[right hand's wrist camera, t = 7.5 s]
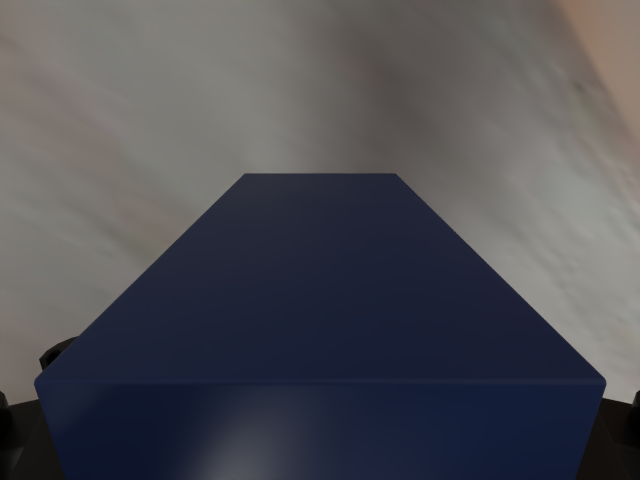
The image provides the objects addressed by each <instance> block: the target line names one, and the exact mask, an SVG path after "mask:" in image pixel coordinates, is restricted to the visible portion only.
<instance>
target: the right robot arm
mask: <svg viewBox="0 0 640 480" xmlns="http://www.w3.org/2000/svg"><path fill="white" fill-rule="evenodd" d="M77 337H78V336H77ZM77 337H73V338H70V339H68V340H66V341H63V342H61V343H58V344H57V345H55V346H54V347H52V348H51V349H49V350H48V351H46V352H45V353H44V355H43V356H42V357H41V358H40V359H39V360H40V364H41V367H42V370H43V371H44V370H45V369H46V368H47V367H48V366H49V365H50V364H51V363H52V362H53V361H54V360H55V359H56V358H57V357H58V356H59V355H60V354H61V353H62V352H63V351H64V350H65V349H66V348H67V347H68V346H69V345H70V344H71V343H72V342H73V341H74V340H75V339H76V338H77ZM0 480H65V477H64V473H63V470H62V467H61V464H60V461H59V458H58V455H57V452H56V449H55V446H54V443H53V440H52V437H51V434H50V431H49V428H48V425H47V422H46V419H45V416H44V413H43V410H42V407H41V404H40V401H39V399H38V400H33V401H29V402H24V403H19V404H15V405H10V406H9V405H8V402H7V400H6V397H5V394H4V393H2V392H1V391H0ZM575 480H640V390H639V391H638V392H637V393H636V395H635V398H634V401H633V403H632V404H629V403H624V402H619V401H615V400H610V399H606V398H602V400H601V403H600V406H599V409H598V412H597V415H596V418H595V421H594V424H593V427H592V430H591V433H590V436H589V439H588V442H587V445H586V448H585V451H584V454H583V457H582V460H581V463H580V466H579V469H578V472H577V475H576V478H575Z"/></svg>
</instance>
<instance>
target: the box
mask: <svg viewBox="0 0 640 480" xmlns="http://www.w3.org/2000/svg"><path fill="white" fill-rule="evenodd" d="M34 386H35V389H36V392H37V395H38V398H39V401H40V404H41V407H42V410H43V413H44V416H45V419H46V422H47V425H48V428H49V431H50V434H51V437H52V440H53V443H54V446H55V449H56V452H57V455H58V458H59V461H60V464H61V467H62V470H63V473H64V477H65V480H575V478H576V475H577V472H578V469H579V466H580V463H581V460H582V457H583V454H584V451H585V448H586V445H587V442H588V439H589V436H590V433H591V430H592V427H593V424H594V421H595V418H596V415H597V412H598V409H599V406H600V403H601V400H602V397H603V393H604V390H605V387H606V380H605V378H604V377H603V376H602V375H601V374H600V373H599V372H598V371H597V370H596V369H595V368H594V367H593V366H592V365H591V364H590V363H588V362H587V361H586V360H585V359H584V358H583V357H582V356H581V355H580V354H579V353H578V352H577V351H576V350H575V349H574V348H573V347H572V346H571V345H570V344H569V343H568V342H567V341H566V340H565V339H564V338H563V337H562V336H561V335H560V334H559V333H558V332H557V331H556V330H555V329H554V328H553V327H552V326H551V325H550V324H549V323H548V322H547V321H546V320H545V319H544V318H543V317H541V316H540V315H539V314H538V313H537V312H536V311H535V310H534V309H533V308H532V307H531V306H530V305H529V304H528V303H527V302H526V301H525V300H524V299H523V298H522V297H521V296H520V295H519V294H518V293H517V292H516V291H515V290H514V289H513V288H512V287H511V286H510V285H509V284H508V283H507V282H506V281H505V280H504V279H503V278H502V277H501V276H500V275H499V274H498V273H497V272H496V271H495V270H493V269H492V268H491V267H490V266H489V265H488V264H487V263H486V262H485V261H484V260H483V259H482V258H481V257H480V256H479V255H478V254H477V253H476V252H475V251H474V250H473V249H472V248H471V247H470V246H469V245H468V244H467V243H466V242H465V241H464V240H463V239H462V238H461V237H460V236H459V235H458V234H457V233H456V232H455V231H454V230H453V229H452V228H451V227H450V226H449V225H448V224H446V223H445V222H444V221H443V220H442V219H441V218H440V217H439V216H438V215H437V214H436V213H435V212H434V211H433V210H432V209H431V208H430V207H429V206H428V205H427V204H426V203H425V202H424V201H423V200H422V199H421V198H420V197H419V196H418V195H417V194H416V193H415V192H414V191H413V190H412V189H411V188H410V187H409V186H408V185H407V184H406V183H405V182H404V181H403V180H402V179H401V178H400V177H398V176H397V175H396V174H244V175H243V176H242V177H241V178H240V179H239V180H238V181H237V182H236V183H235V184H234V185H233V186H232V187H231V188H230V189H229V190H227V191H226V192H225V193H224V194H223V195H222V196H221V197H220V198H219V199H218V200H217V201H216V202H215V203H214V204H213V205H212V206H211V207H210V208H209V209H208V210H207V211H206V212H205V213H204V214H203V215H202V216H201V217H200V218H199V219H198V220H197V221H196V222H195V223H194V224H193V225H192V226H191V227H190V228H189V229H188V230H187V231H186V232H185V233H184V234H183V235H182V236H181V237H180V238H178V239H177V240H176V241H175V242H174V243H173V244H172V245H171V246H170V247H169V248H168V249H167V250H166V251H165V252H164V253H163V254H162V255H161V256H160V257H159V258H158V259H157V260H156V261H155V262H154V263H153V264H152V265H151V266H150V267H149V268H148V269H147V270H146V271H145V272H144V273H143V274H142V275H141V276H140V277H139V278H138V279H137V280H136V281H135V282H134V283H133V284H132V285H131V286H130V287H128V288H127V289H126V290H125V291H124V292H123V293H122V294H121V295H120V296H119V297H118V298H117V299H116V300H115V301H114V302H113V303H112V304H111V305H110V306H109V307H108V308H107V309H106V310H105V311H104V312H103V313H102V314H101V315H100V316H99V317H98V318H97V319H96V320H95V321H94V322H93V323H92V324H91V325H90V326H89V327H88V328H87V329H86V330H85V331H84V332H83V333H82V334H81V335H79V336H78V337H77V338H76V339H75V340H74V341H73V342H72V343H71V344H70V345H69V346H68V347H67V348H66V349H65V350H64V351H63V352H62V353H61V354H60V355H59V356H58V357H57V358H56V359H55V360H54V361H53V362H52V363H51V364H50V365H49V366H48V367H47V368H46V369H45V370H44V371H43V372H42V373H41V374H40V375H39V376H38V377H37V378H36V379H35V381H34Z"/></svg>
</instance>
